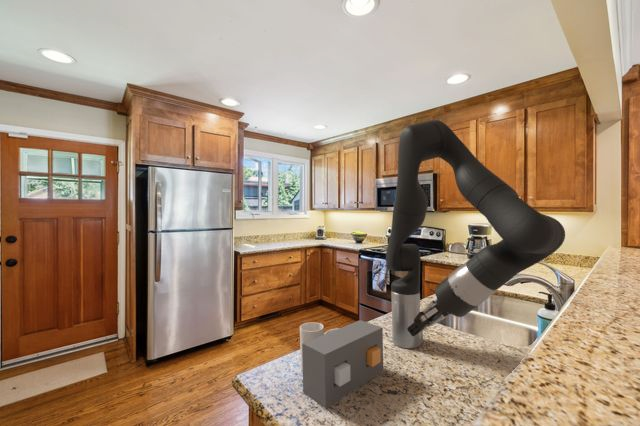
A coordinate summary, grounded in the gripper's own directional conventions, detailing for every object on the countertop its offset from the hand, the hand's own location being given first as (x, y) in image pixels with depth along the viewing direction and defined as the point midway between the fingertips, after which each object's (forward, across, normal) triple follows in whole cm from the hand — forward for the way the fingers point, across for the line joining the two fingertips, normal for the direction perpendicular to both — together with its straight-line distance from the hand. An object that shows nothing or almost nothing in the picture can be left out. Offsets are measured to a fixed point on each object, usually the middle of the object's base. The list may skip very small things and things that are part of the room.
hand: (411, 331), depth 66 cm
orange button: (+16, 0, 0) cm, 16 cm away
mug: (+31, +8, -8) cm, 33 cm away
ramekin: (+31, -6, -9) cm, 33 cm away
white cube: (+16, +12, 0) cm, 20 cm away
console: (+22, +6, 0) cm, 23 cm away
